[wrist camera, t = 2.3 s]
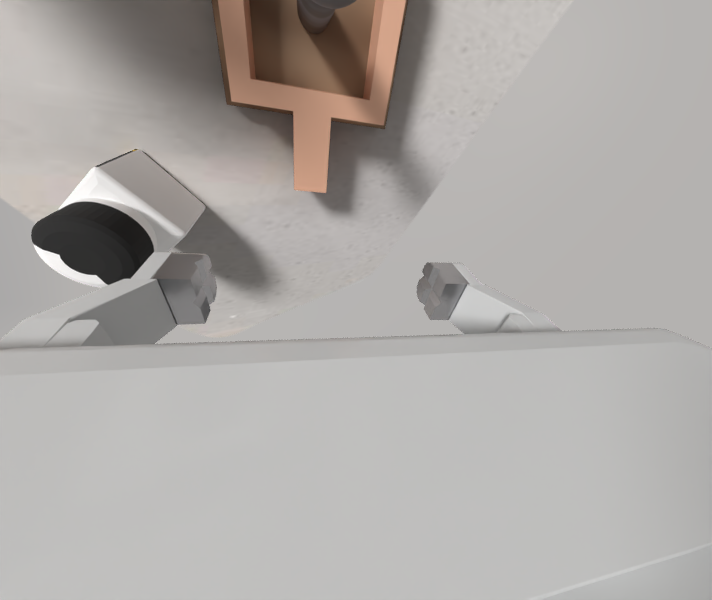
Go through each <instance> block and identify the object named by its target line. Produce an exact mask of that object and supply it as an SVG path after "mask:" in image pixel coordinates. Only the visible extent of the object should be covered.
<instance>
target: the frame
mask: <svg viewBox="0 0 712 600" xmlns="http://www.w3.org/2000/svg"><path fill="white" fill-rule="evenodd" d="M405 3H406V0H375V7H374V15H373V23H372V31H371V39H370V47H369V55H368V62H367V70H366V78H365V86H364V94H363V98H359V97H353V96H348V95H342V94H337V93H331V92H326V91H320V90H315V89H309V88H303V87H298V86H292V85H287V84H281V83H276V82H270V81H265V80H259V79H256V76H255V64H254V52H253V40H252V28H251V16H250V4H249V0H218V5H219V12H220V20H221V27H222V35H223V42H224V49H225V57H226V64H227V72H228V79H229V86H230V94H231V101H232V102H239V103H245V104H251V105H258V106H264V107H270V108H276V109H283V110H289V111H293V130H294V190H300V191H311V192H322V193H326V188H327V173H328V158H329V143H330V128H331V117H333V118H339V119H345V120H352V121H358V122H364V123H371V124H377V125H383V126H384V121H385V116H386V110H387V104H388V99H389V93H390V87H391V82H392V76H393V70H394V65H395V59H396V53H397V48H398V42H399V36H400V31H401V25H402V20H403V14H404V8H405Z"/></svg>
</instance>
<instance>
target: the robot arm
mask: <svg viewBox="0 0 712 600" xmlns="http://www.w3.org/2000/svg"><path fill="white" fill-rule="evenodd" d="M211 266H212V264H211V260H210V257H209V256H208V255H207V254H196V253H177V252H174V253H173V252H154V253H153V254H152V255H151V256H150V257H149V258H148V259H147V260H146V262H145V263H144V264H143V265H142V266H141V267H140V268H139V270H138V271H137V272H136V273H135V274H134V275H133V276H132V278H131V279H122V280H120V281H118V282H115V283H113V284H110V285H108V286H105V287H103V288H100V289H98V290H95V291H93V292H90V293H88V294H86V295H83V296H81V297H78V298H76V299H73V300H70V301H68V302H66V303H63V304H61V305H58V306H56V307H53V308H51V309H48V310H46V311H43V312H41V313H38V314H36V315H33V316H31V317H29V318H26V319H24V320H23V321H21V322H20V323H19V324H18V325H17V326H16V327H14V328H13V329H12V330H11V331H10V332H9V333H7V334H6V335H5V336H4V337H3V338H2V339H0V600H712V348H710V347H708V346H706V345H703V344H701V343H699V342H696V341H694V340H692V339H689V338H687V337H684V336H682V335H679V334H677V333H674V332H672V331H669V330H666V329H658V328H644V329H612V330H585V331H584V330H583V331H561V330H560V329H559V328H558V327H557V326H556V325H555V324H554V323H553V322H552V321H550V319H548V318H547V317H546V316H545V315H544V314H543V313H541V312H539V311H537V310H535V309H533V308H531V307H529V306H527V305H525V304H523V303H521V302H519V301H517V300H515V299H513V298H511V297H509V296H507V295H505V294H503V293H501V292H499V291H497V290H495V289H493V288H491V287H489V286H487V285H482V284H481V283H480V282H479V281H478V279H476V277H475V276H474V275H473V274H472V273H471V272H470V271H469V270H468V268H467V267H466V266H465V265H464V264H462V263H426V265H425V266H424V268H423V271H422V272H423V274H424V276H423V277H422V278H421V279H420V280H419V282H418V285H417V296H418V299H419V301H420V302H421V303H423V304H424V305H425V307H424V310H425V312H426V314H427V315H428V317H429V319H430V320H449V321H450V322H451V323H452V324H453V325H454V326H456V327H457V328H458V329H459V330H461V331H462V332H463V333H464V334H456V335H426V336H394V337H365V338H330V339H298V340H268V341H235V342H204V343H174V344H155V343H156V342H157V341H158V340H160V339H161V338H162V337H163V336H165V335H166V334H167V333H168V332H170V331H171V330H172V329H173V328H175V327H176V326H177V325H179V324H204V323H206V320H207V318H208V315H209V313H210V306H209V304H211V303H212V302H214V300H215V297H216V290H217V286H216V279H215V276H214V275H213V274H212V273H211V272H209V271H210V269H211Z"/></svg>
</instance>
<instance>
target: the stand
mask: <svg viewBox="0 0 712 600" xmlns="http://www.w3.org/2000/svg"><path fill="white" fill-rule="evenodd" d="M249 4H250V16H251V28H252V40H253V52H254V64H255V76H256V79H259V80H265V81H270V82H276V83H281V84H287V85H292V86H298V87H303V88H309V89H315V90H320V91H326V92H331V93H337V94H342V95H348V96H353V97H359V98H363V94H364V86H365V78H366V70H367V62H368V55H369V47H370V39H371V31H372V23H373V15H374V7H375V0H249ZM407 4H408V0H406V3H405V8H404V14H403V20H402V25H401V31H400V36H399V42H398V48H397V53H396V59H395V65H394V70H393V76H392V82H391V87H390V93H389V99H388V104H387V110H386V116H385V121H384V126H383V125H377V124H371V123H364V122H358V121H352V120H345V119H339V118H333V117H331V121H336V122H343V123H349V124H355V125H362V126H368V127H375V128H381V129H385V125H386V120H387V114H388V109H389V103H390V98H391V92H392V87H393V81H394V76H395V70H396V64H397V59H398V53H399V48H400V42H401V37H402V31H403V26H404V20H405V15H406V9H407ZM212 6H213V13H214V20H215V27H216V34H217V40H218V47H219V54H220V61H221V68H222V75H223V82H224V89H225V95H226V102H227V105H234V106H240V107H247V108H253V109H259V110H266V111H272V112H279V113H285V114H291V115H293V111H289V110H283V109H276V108H270V107H264V106H258V105H251V104H245V103H239V102H232V101H231V94H230V86H229V79H228V72H227V64H226V57H225V49H224V42H223V35H222V27H221V20H220V12H219V5H218V0H212Z"/></svg>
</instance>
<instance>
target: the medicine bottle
mask: <svg viewBox="0 0 712 600" xmlns="http://www.w3.org/2000/svg"><path fill="white" fill-rule="evenodd" d="M204 210H205V205H204V204H203V203H202V202H201V201H199V200H198V199H197V198H196V197H195V196H194V195H192V194H191V193H190V192H189V191H188V190H187V189H185V188H184V187H183V186H182V185H181V184H180V183H178V182H177V181H176V180H175V179H174V178H173V177H171V176H170V175H169V174H168V173H167V172H166V171H164V170H163V169H162V168H161V167H160V166H159V165H157V164H156V163H155V162H154V161H153V160H152V159H150V158H149V157H148V156H147V155H146V154H145V153H143V152H142V151H141V150H139V149H135V150H132V151H130V152H128V153H125V154H123V155H121V156H118V157H116V158H114V159H111V160H109V161H107V162H104V163H102V164H100V165H97V166H95V167H93V168H92V169H91V170H90V171H89V172H88V174H87V175H86V176H85V177H84V179H83V180H82V181H81V182H80V183H79V185H78V186H77V187H76V188H75V190H74V191H73V192H72V193H71V194H70V196H69V197H68V198H67V199H66V200H65V202H64V203H63V204H62V205H61V207H60V208H59V209H58V210H57V211H56V212H54V213H52V214H50V215H49V216H47V217H45V218H43V219H41V220H40V221H38V222H37V223H36V224H35V225H34V227H33V229H32V235H31V236H32V242H33V244H34V247H35V250H36V251H37V253H38V255H39V256H40V257H41V258H42V260H43V261H44V262H45V263H46V264H48V265H49V266H50V267H51V268H52V269H54V270H55V271H57V272H58V273H60V274H61V275H63V276H65V277H67V278H69V279H71V280H73V281H76V282H79V283H82V284H85V285H89V286H94V287H101V288H103V287H105V286H108V285H110V284H113V283H115V282H118V281H120V280H122V279H131V278H132V276H133V275H134V274H135V273H136V272H137V271H138V270H139V268H140V267H141V266H142V265H143V264H144V263H145V262H146V260H147V259H148V258H149V257H150V256H151V255H152V254H153V253H154V252H169V251H170V250H171V249H172V248H173V247H174V246H175V245H177V244H178V243H179V242H180V241H181V240H182V239H183V238H184V237H185V236H186V235H187V234H188V232H189V231H190V229H191V228H192V227H193V225H194V224H195V222H196V221H197V220H198V218H199V217H200V216H201V214H202V213H203V211H204Z"/></svg>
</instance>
